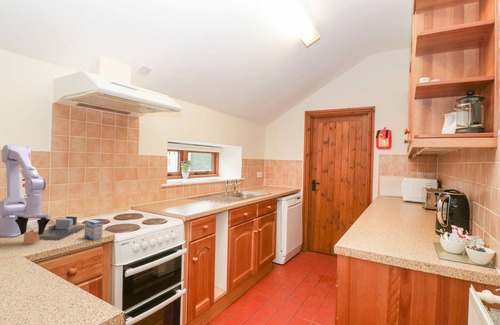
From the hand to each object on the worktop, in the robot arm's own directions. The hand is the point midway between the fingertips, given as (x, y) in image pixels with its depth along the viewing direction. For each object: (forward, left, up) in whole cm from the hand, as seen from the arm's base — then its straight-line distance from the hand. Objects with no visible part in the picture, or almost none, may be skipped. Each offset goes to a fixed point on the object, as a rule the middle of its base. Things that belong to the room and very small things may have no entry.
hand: (32, 234), depth 126 cm
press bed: (+2, +18, -4) cm, 18 cm away
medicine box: (+22, +11, -4) cm, 25 cm away
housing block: (0, 0, -4) cm, 4 cm away
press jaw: (+2, +24, -2) cm, 24 cm away
